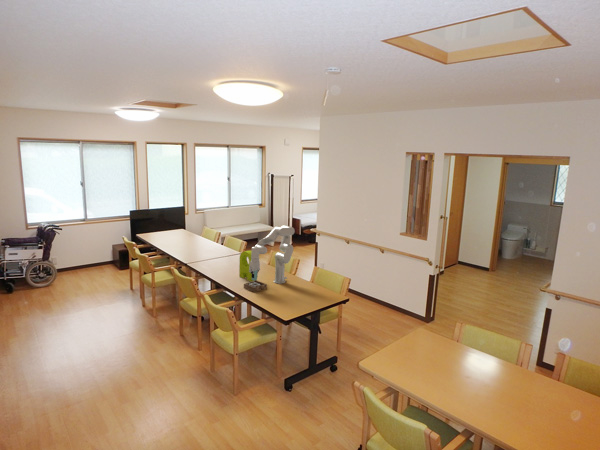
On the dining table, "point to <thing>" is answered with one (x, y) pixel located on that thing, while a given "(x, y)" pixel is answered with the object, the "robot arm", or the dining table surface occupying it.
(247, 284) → the walled box
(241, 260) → the decorative object
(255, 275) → the connector
